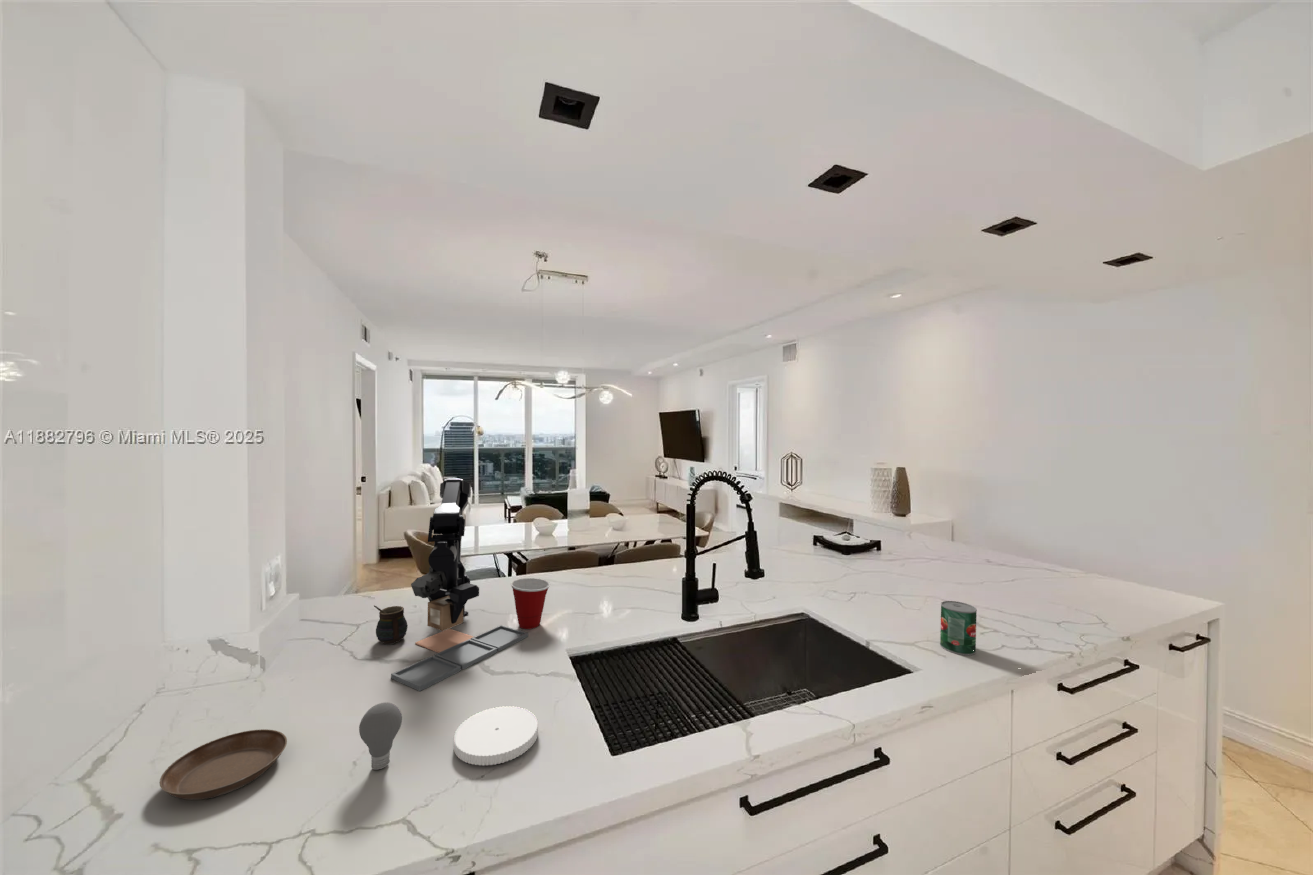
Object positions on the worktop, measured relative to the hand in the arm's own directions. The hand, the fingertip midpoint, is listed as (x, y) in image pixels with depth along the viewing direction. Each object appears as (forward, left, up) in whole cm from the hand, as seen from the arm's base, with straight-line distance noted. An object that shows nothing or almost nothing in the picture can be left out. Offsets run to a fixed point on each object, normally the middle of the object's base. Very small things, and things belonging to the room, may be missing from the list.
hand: (445, 620), depth 123 cm
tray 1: (+11, -13, -5) cm, 18 cm away
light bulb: (+31, -35, -6) cm, 47 cm away
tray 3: (+11, +8, -5) cm, 15 cm away
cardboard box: (0, 0, -1) cm, 1 cm away
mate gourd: (-12, -7, -6) cm, 15 cm away
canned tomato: (+115, +66, -6) cm, 133 cm away
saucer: (+12, -48, -6) cm, 50 cm away
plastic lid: (+42, -21, -6) cm, 48 cm away
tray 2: (+11, -3, -5) cm, 13 cm away
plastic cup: (+11, +19, -6) cm, 23 cm away
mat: (0, 0, -5) cm, 5 cm away
